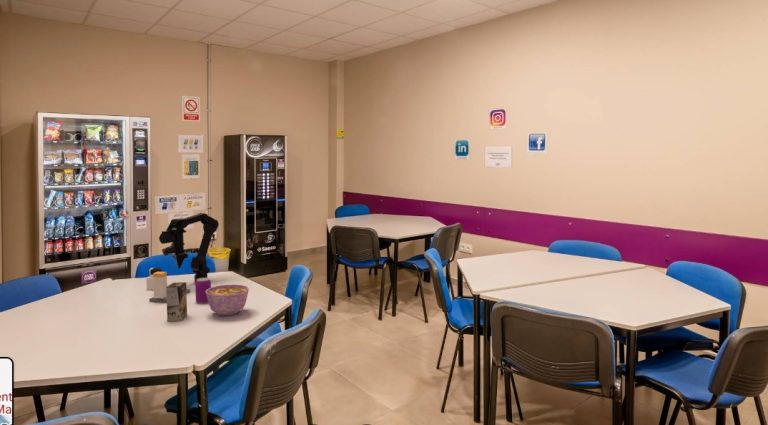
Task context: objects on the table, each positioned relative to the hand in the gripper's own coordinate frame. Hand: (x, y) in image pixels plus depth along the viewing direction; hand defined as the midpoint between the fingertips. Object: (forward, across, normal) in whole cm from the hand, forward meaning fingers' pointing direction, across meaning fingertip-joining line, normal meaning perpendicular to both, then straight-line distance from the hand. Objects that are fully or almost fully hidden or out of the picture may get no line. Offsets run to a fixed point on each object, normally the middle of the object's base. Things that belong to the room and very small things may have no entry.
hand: (179, 268), depth 275 cm
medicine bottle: (+12, -8, -11) cm, 18 cm away
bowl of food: (+12, +57, +10) cm, 59 cm away
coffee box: (+12, +52, -12) cm, 55 cm away
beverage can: (+12, +32, +5) cm, 35 cm away
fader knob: (+10, +19, -13) cm, 25 cm away
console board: (+12, +14, -8) cm, 20 cm away
